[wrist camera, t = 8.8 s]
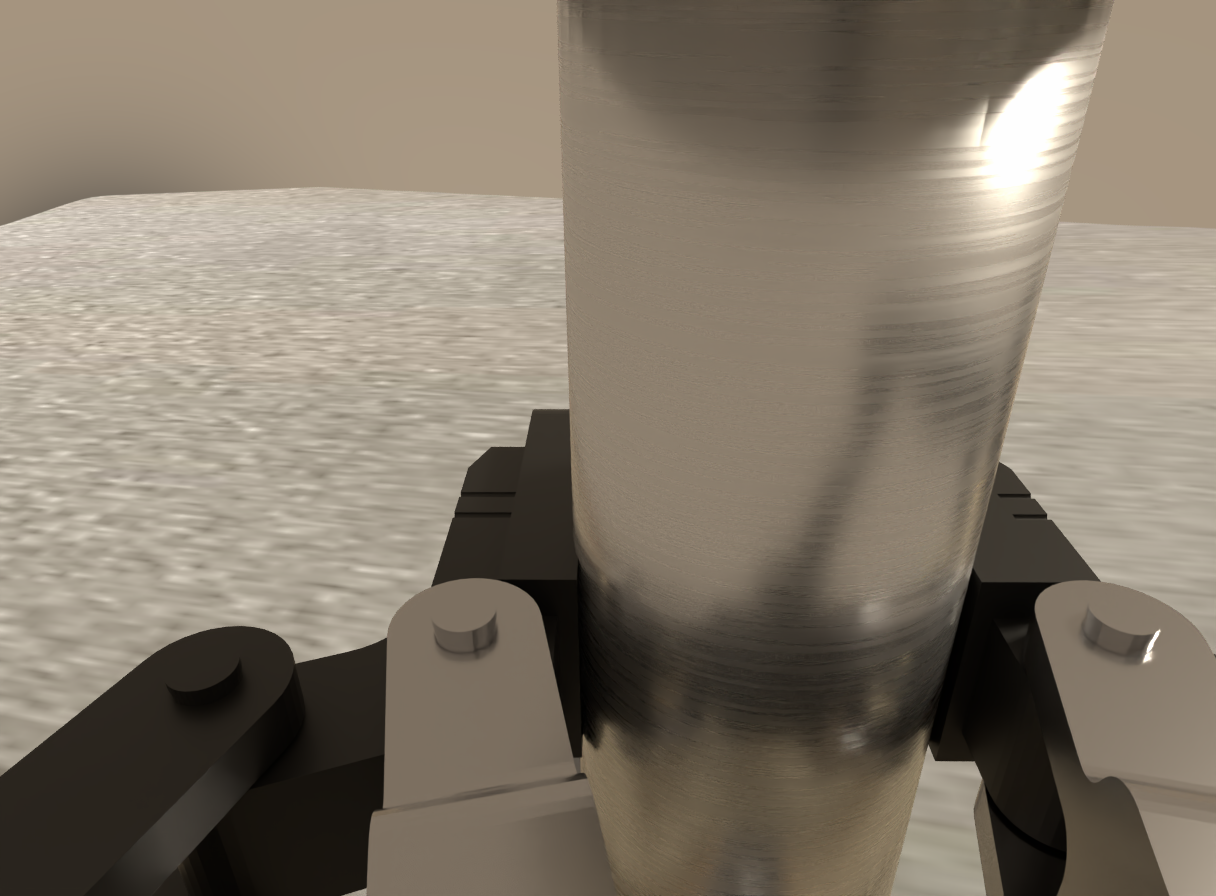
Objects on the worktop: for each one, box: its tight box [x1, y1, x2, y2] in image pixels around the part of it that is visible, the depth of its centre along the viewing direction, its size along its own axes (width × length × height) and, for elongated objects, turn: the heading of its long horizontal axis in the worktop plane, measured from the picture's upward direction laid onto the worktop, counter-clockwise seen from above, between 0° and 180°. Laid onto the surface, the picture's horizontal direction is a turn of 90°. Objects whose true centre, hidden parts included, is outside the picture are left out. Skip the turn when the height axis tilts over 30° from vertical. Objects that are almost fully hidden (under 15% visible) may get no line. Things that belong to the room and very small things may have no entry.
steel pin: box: [557, 0, 1114, 896], centre depth 9 cm, size 5×5×15 cm
